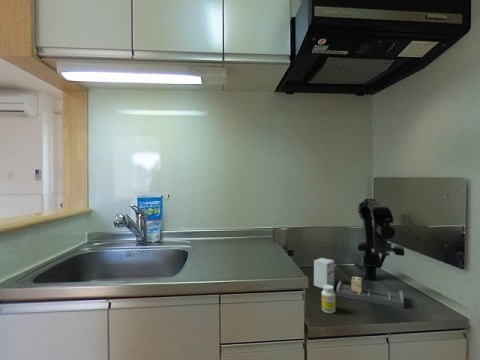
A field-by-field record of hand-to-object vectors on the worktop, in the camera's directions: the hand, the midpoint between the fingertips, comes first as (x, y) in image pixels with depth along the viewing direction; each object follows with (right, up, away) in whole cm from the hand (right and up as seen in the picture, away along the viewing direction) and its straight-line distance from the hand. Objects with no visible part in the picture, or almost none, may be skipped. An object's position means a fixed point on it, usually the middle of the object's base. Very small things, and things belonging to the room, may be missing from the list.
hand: (380, 266), depth 123 cm
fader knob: (-12, -9, -3) cm, 16 cm away
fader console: (-8, -12, -5) cm, 15 cm away
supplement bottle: (-30, -12, -16) cm, 36 cm away
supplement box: (-24, -12, +8) cm, 28 cm away
